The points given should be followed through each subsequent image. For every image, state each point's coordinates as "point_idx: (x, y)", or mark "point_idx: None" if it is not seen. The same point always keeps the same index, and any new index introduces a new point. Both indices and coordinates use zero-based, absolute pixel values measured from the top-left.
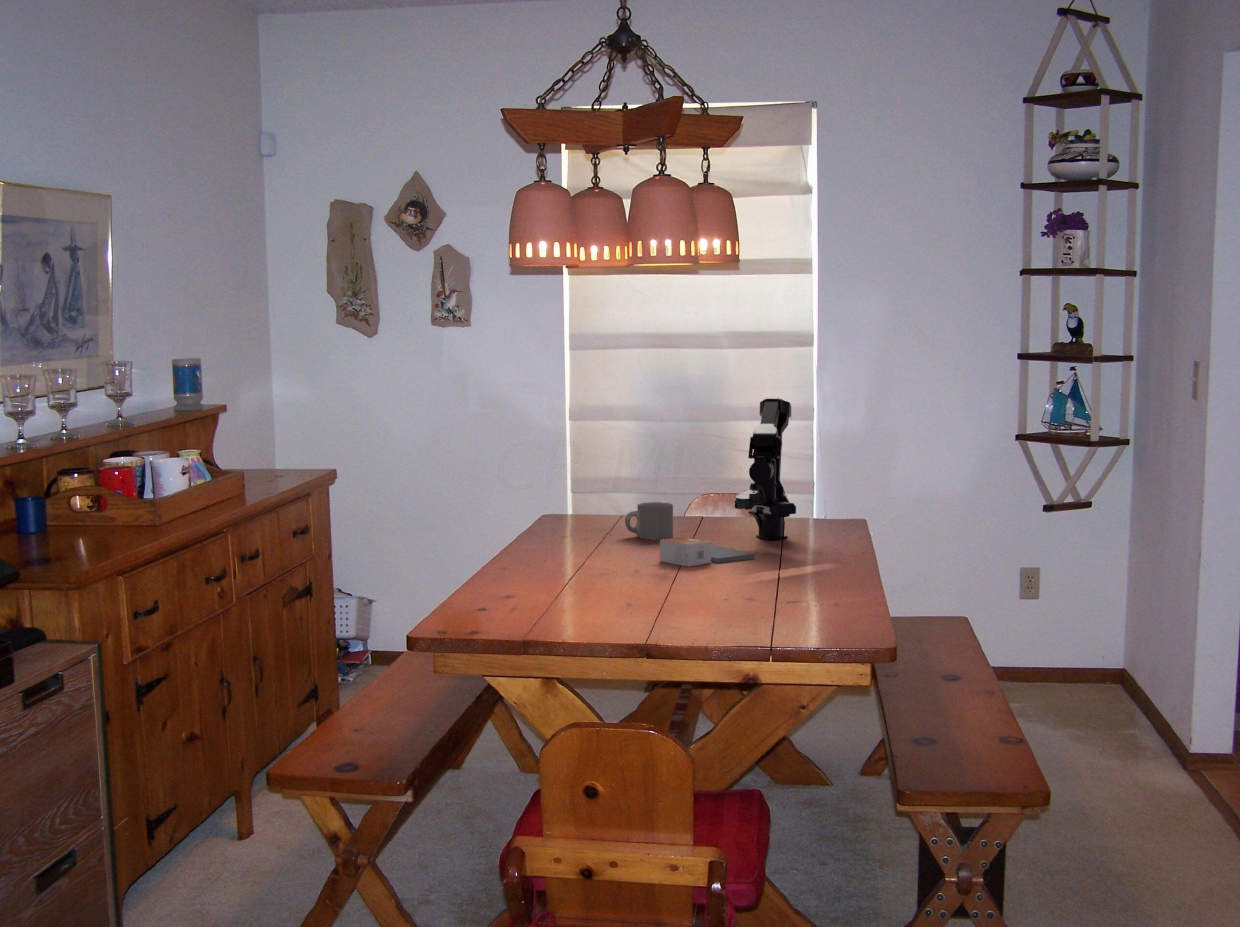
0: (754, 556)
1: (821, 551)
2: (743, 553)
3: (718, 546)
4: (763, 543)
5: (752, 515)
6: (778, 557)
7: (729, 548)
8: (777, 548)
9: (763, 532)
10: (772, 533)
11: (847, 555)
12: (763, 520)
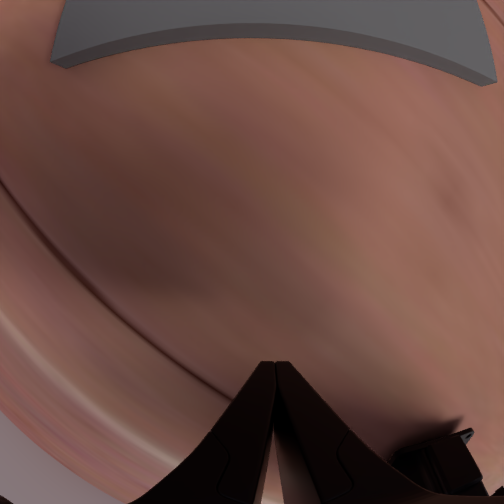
0: (59, 64)
1: (107, 443)
2: (98, 7)
3: (433, 45)
4: (414, 418)
5: (479, 497)
6: (30, 208)
7: (322, 25)
8: None
9: (254, 389)
10: (408, 477)
11: (29, 420)
12: (198, 500)
